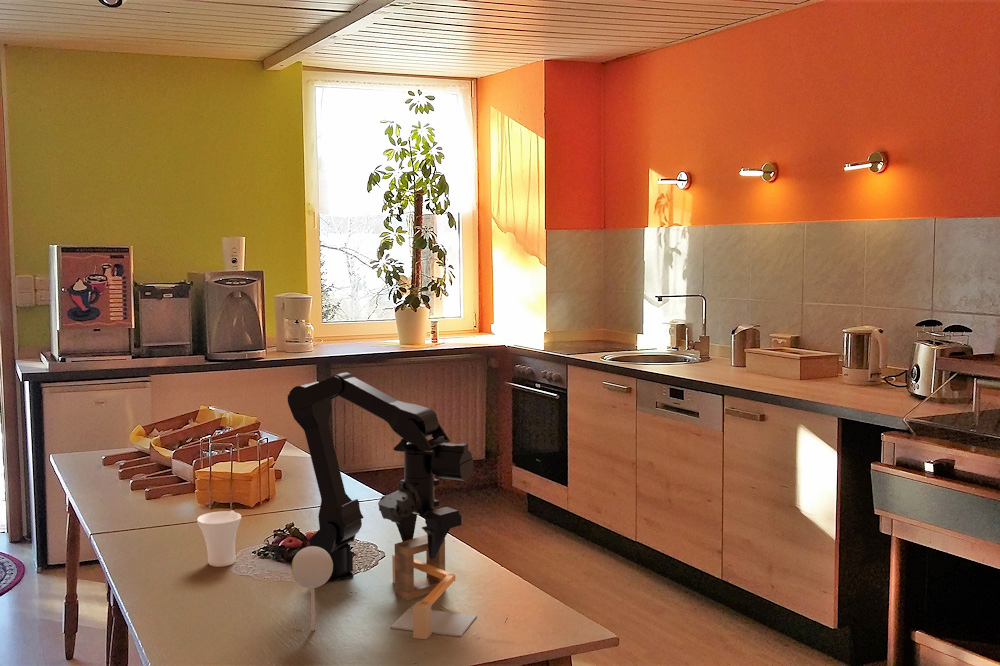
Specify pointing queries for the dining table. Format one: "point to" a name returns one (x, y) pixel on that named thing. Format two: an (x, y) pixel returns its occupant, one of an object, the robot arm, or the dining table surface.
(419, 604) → the rail
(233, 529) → the cup
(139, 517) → the dining table surface
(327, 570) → the lollipop
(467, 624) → the mat
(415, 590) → the brown rectangular frame
